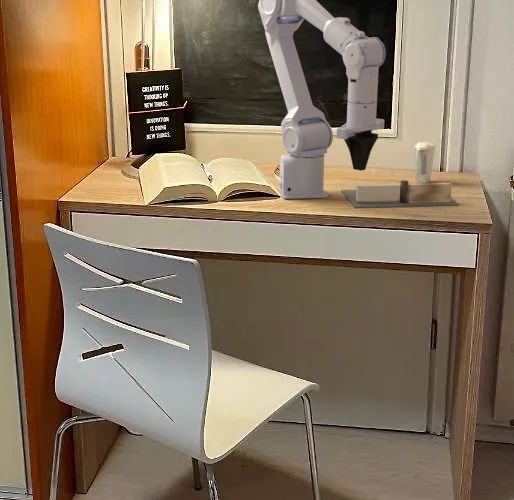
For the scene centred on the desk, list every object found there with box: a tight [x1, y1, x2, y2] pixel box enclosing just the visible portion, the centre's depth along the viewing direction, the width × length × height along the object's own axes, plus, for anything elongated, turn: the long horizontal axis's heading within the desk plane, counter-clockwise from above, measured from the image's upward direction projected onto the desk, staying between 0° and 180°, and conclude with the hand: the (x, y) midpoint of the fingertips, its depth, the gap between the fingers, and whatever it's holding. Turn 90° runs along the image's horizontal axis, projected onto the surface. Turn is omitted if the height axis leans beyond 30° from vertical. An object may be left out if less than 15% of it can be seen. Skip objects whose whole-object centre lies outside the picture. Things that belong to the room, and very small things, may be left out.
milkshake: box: [414, 138, 441, 183], centre depth 205 cm, size 4×5×10 cm
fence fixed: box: [399, 179, 453, 203], centre depth 188 cm, size 11×2×4 cm, turn 97°
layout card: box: [340, 189, 460, 209], centre depth 192 cm, size 22×14×1 cm, turn 97°
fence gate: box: [355, 183, 401, 201], centre depth 187 cm, size 9×1×3 cm, turn 97°
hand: (359, 169), depth 181 cm, fingers closed
